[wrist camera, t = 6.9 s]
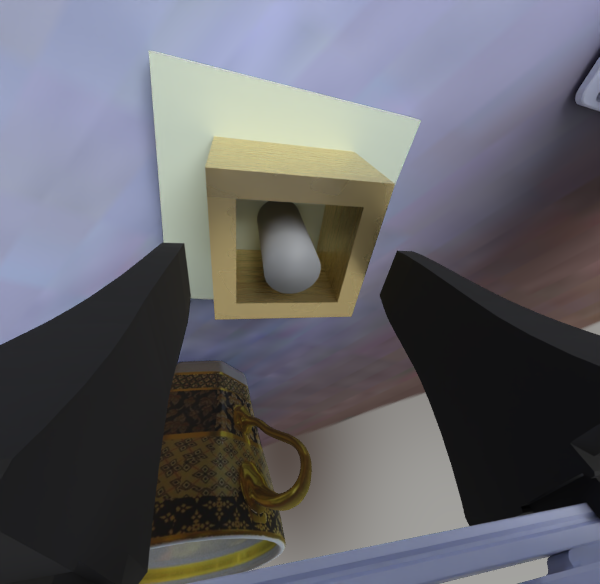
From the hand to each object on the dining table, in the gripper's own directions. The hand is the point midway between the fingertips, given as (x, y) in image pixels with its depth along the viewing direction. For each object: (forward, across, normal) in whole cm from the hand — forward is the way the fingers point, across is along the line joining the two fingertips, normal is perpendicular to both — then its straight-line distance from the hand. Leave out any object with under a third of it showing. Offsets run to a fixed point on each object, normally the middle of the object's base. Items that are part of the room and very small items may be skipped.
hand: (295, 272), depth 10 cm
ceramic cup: (+5, +3, +13) cm, 14 cm away
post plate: (+5, 0, 0) cm, 5 cm away
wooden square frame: (+4, 0, 0) cm, 4 cm away
